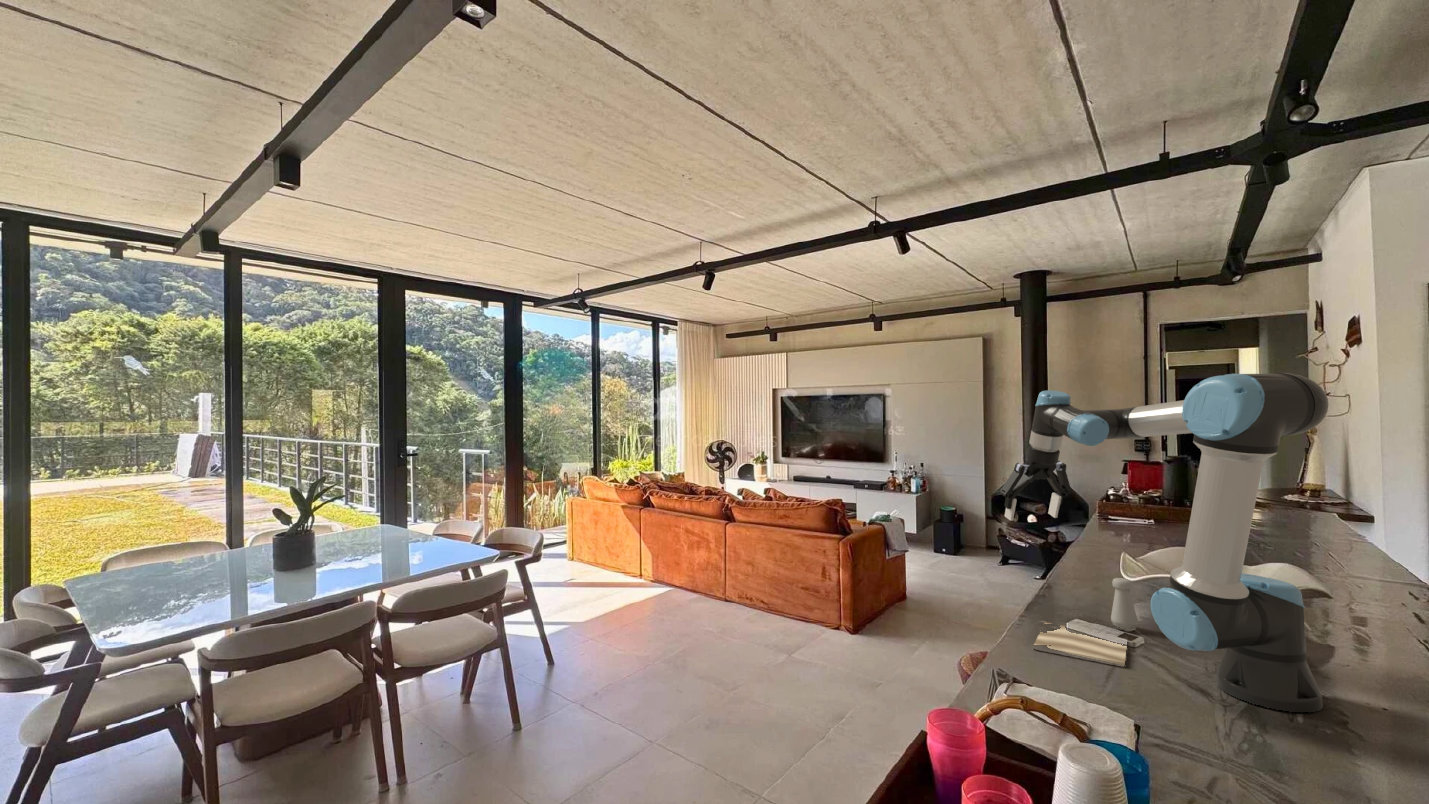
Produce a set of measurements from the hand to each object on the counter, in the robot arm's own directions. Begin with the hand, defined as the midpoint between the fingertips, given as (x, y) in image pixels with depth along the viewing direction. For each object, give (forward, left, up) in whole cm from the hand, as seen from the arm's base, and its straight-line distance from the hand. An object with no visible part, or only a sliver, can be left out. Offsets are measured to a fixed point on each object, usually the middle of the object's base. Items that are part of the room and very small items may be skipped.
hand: (1030, 517), depth 160 cm
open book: (-16, -12, -28) cm, 35 cm away
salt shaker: (+2, -20, -28) cm, 35 cm away
